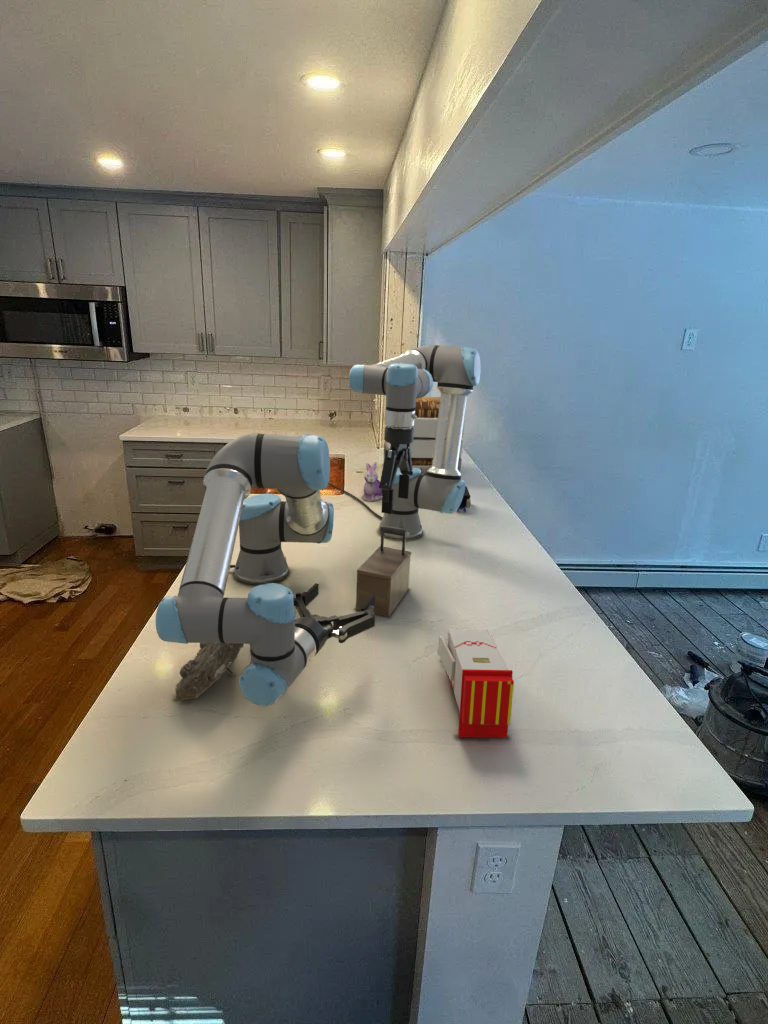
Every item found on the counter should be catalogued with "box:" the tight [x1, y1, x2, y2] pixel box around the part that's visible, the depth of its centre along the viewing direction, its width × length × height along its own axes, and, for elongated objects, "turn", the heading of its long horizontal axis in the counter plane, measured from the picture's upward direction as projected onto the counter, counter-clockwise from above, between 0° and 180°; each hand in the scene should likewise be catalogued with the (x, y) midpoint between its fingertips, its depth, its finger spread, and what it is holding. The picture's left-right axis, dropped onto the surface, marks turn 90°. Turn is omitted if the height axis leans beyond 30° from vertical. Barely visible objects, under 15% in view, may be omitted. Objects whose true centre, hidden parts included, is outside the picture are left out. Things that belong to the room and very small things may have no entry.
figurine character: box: [456, 485, 472, 513], centre depth 228 cm, size 7×8×15 cm
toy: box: [437, 628, 515, 738], centre depth 117 cm, size 12×13×30 cm
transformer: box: [383, 396, 465, 474], centre depth 268 cm, size 34×33×41 cm
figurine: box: [362, 461, 382, 502], centre depth 233 cm, size 9×10×15 cm
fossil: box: [174, 643, 245, 701], centre depth 119 cm, size 22×10×15 cm
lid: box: [356, 525, 412, 580], centre depth 150 cm, size 17×9×8 cm, turn 160°
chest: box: [355, 556, 411, 618], centre depth 153 cm, size 17×9×10 cm, turn 160°
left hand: (344, 594), depth 126 cm, fingers open, 13 cm apart
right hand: (395, 505), depth 152 cm, fingers open, 13 cm apart
